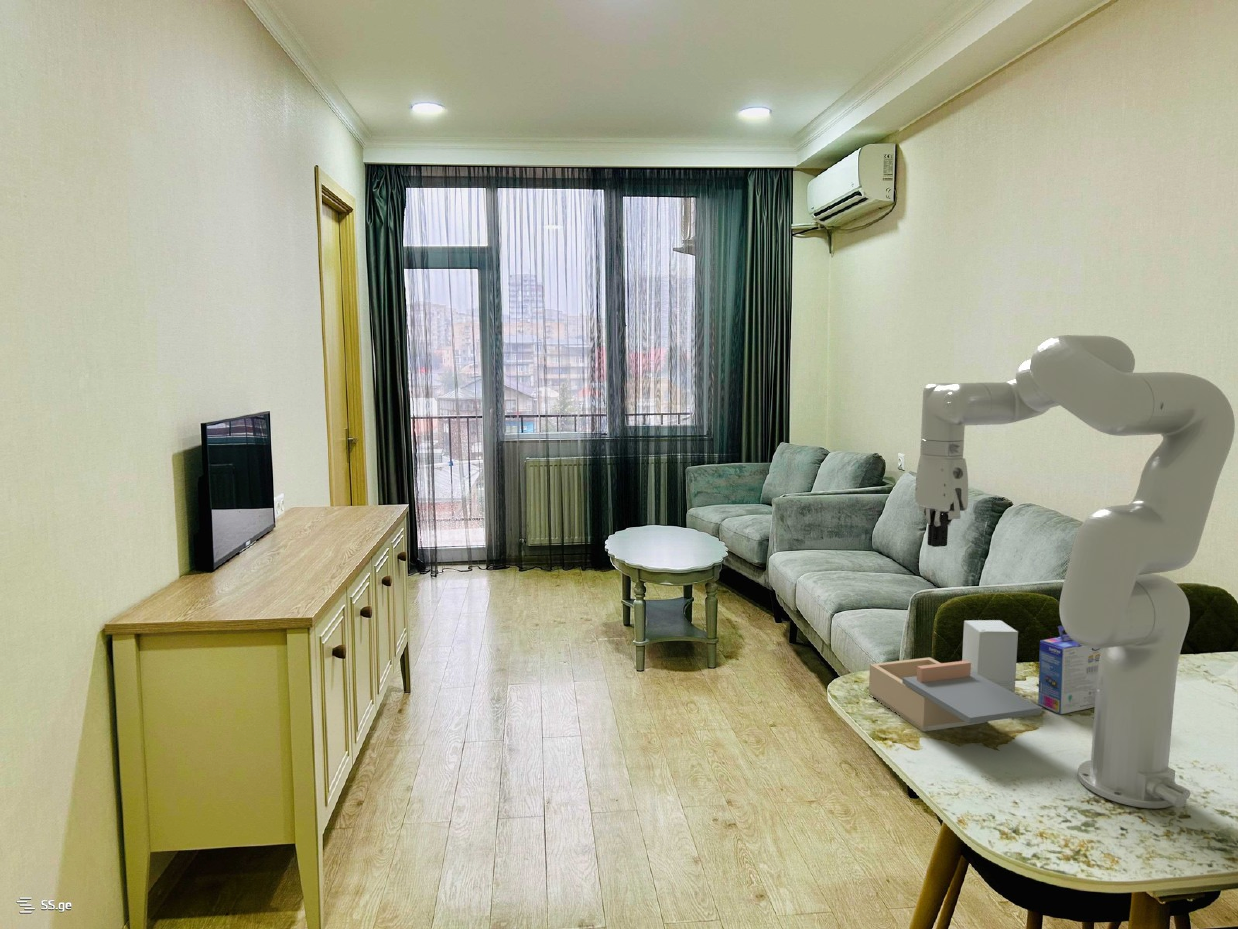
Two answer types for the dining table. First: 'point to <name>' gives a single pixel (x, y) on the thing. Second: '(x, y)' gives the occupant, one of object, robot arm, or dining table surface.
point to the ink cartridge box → (1067, 674)
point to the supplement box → (991, 651)
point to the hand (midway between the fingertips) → (937, 545)
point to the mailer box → (909, 695)
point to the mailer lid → (968, 693)
